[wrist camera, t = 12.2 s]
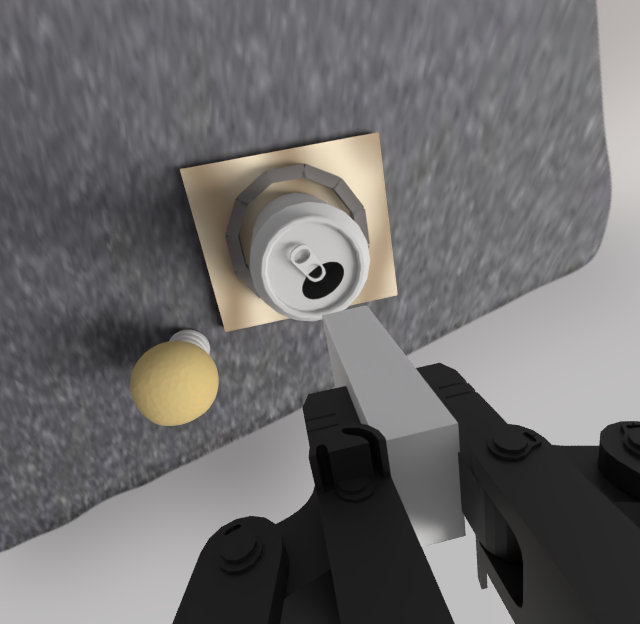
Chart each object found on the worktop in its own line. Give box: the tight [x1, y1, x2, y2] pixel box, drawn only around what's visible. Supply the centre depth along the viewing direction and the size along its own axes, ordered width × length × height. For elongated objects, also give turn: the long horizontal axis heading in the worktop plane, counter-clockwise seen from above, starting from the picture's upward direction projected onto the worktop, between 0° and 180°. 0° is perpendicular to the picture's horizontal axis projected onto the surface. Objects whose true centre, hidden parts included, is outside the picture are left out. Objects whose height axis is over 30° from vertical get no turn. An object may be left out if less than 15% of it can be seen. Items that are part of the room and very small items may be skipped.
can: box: [249, 192, 370, 321], centre depth 29 cm, size 8×8×12 cm
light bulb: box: [130, 330, 218, 426], centre depth 34 cm, size 6×6×10 cm
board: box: [180, 132, 397, 332], centre depth 35 cm, size 16×14×3 cm
